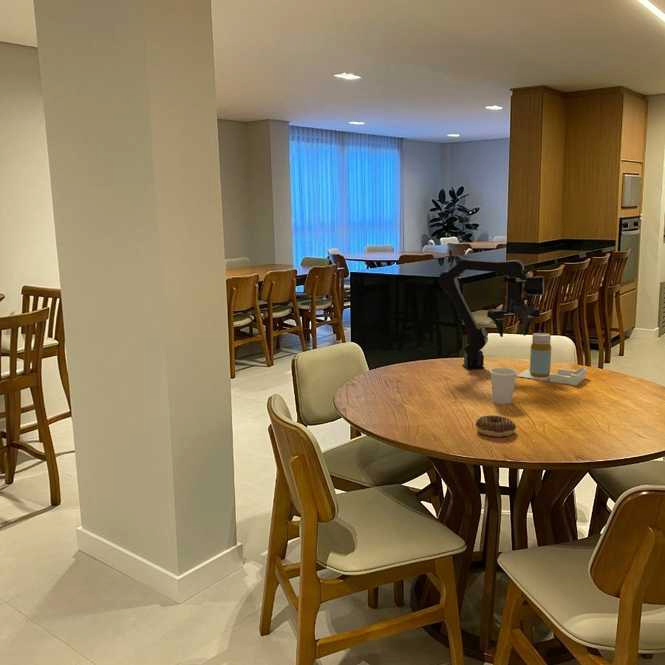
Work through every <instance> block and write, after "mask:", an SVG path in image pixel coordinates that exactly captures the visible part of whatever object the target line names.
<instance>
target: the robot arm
mask: <svg viewBox="0 0 665 665" xmlns="http://www.w3.org/2000/svg"><path fill="white" fill-rule="evenodd" d="M468 270H469V271H478V272H479V271H480V272H491V273H492V272H493V273H499V274H502V275H505V277H504V278H503V279H502V280H501V283H506V296H504V300H505V301H506V302H505V307H504V308H503V310H504V311H503V310H501V309H498V308H496V309H489V310H488V311H487V316H486V317H487V318H488V319H489V318H490V320H492V321H493V322H494V325H495V326H496V329H497V331H498V334H499V336H500V337H501V338H503V337H504V322H505V319H504V317H512V316H513V317H517V318H522V336H524V337H525V336H526V335H527V332H528V330H529V328H530V326H531V324H532V322H534V321H535V320H537V319H538V318H540V317H541V310H540V309H539V308H536V307H535V303H534V302H528V303H525V297H523V291H524V293H525V294H526V295H527V296H544V293H545V281H544V276H530V274H528V273H527V272H526V270H525V266H524V263H523V262H522V260H518V259H512V260H503V261H493V260H483V259H482V260H481V259H480V260H479V259H469V258H463V259H461V260H459V262H458V263H457V264H455V265H454V266H453V267H451V268H450V269H449V270H445V271H443V272H441V273H440V275H439V276H438V280H437V281H438V283H439V285H440V286H441V288H442V289H443V290H444V291H445V293H447V295H449V297H450V299H451V300H452V302H453V305H454V306H455V308H456V310H457V312H458V315H459V317H460V318H461V320H462V323H463V324H464V327H465V329H466V332H467V337H468V343H467V344H466V345H465V346H464V348H463V350H464V351H463V354H464V355H463V356H464V357H463V364H461V365H462V367H464V368H466V369H467V370H474V369H475V370H478V369H479V368H480V369H484V368H485V366H484V363H485V362H484V361H485V359H484V358H485V356H484V353H483V351H482V349H484V348H485V346H486V345H487V344H488V341H489V338H488V335H489V333H487V331H486V328H485V326H484V325H481V326H480V325H479V324H478V323H477V321H476V320H475V317H474V316H473V313H472V312H471V310H470V307H469V306H468V304H467V302H466V300H465V298H464V296H463V293H462V291H461V288H460V283H459V280H458V278H459V277H460V276H461V275H462V274H463V273H464V272H466V271H468ZM523 287H524V288H523Z"/></svg>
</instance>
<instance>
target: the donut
mask: <svg viewBox="0 0 665 665" xmlns="http://www.w3.org/2000/svg"><path fill="white" fill-rule="evenodd" d="M475 428H476V430H477V431H478V432H479V433H480V434H482V435H484V434H485V435H484V436H487V435H488V437H492V436H494V437H493V438H504V437H503V436H505V437H509V436H512V434H514V433H515V431H516V428H517V425H516V423H515V422H513V420H511V419H510V418H508V417H505V416H500V415H493V414H492V415H491V414H490V415H483V416H480V417H478V418H477V419H476V422H475Z"/></svg>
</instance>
